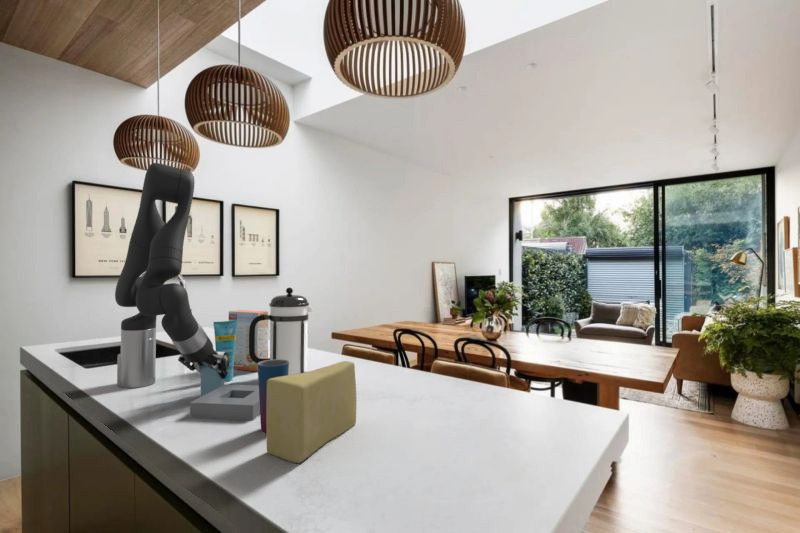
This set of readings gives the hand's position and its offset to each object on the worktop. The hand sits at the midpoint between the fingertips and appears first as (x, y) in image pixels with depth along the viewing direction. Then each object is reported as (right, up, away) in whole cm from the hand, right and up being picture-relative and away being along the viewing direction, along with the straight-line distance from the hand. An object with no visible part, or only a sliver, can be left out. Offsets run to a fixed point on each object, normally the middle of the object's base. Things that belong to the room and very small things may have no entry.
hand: (216, 375), depth 120 cm
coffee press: (+15, -6, +18) cm, 24 cm away
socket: (+11, -5, -12) cm, 17 cm away
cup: (+24, -5, -26) cm, 36 cm away
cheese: (+36, -5, -32) cm, 49 cm away
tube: (-4, -5, +15) cm, 16 cm away
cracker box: (-2, -6, +30) cm, 31 cm away
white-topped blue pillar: (0, -5, -2) cm, 6 cm away
